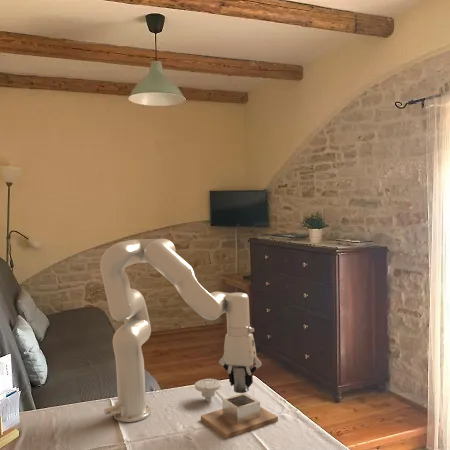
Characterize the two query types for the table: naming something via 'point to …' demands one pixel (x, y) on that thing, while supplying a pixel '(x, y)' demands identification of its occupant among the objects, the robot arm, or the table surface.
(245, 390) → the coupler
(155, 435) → the table surface
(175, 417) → the table surface
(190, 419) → the table surface
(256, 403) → the board
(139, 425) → the table surface
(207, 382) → the showerhead
